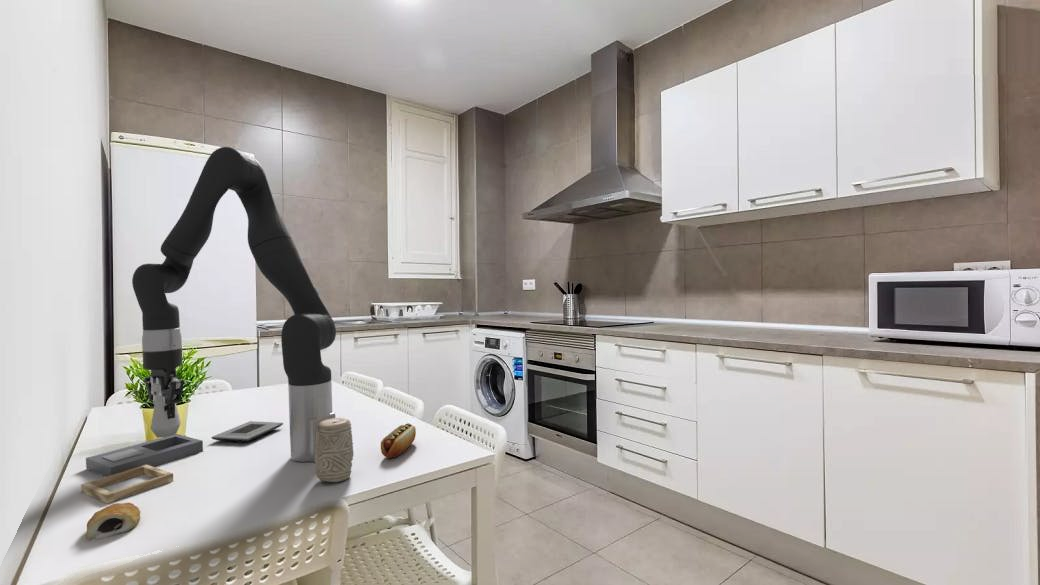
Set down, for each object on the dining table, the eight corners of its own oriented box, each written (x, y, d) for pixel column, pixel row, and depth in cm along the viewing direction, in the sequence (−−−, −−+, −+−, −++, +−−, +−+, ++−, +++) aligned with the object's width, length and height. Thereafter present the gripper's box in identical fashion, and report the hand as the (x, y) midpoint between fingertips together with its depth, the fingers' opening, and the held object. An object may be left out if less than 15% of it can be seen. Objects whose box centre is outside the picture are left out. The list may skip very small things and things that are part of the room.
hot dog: (420, 441, 118) (419, 422, 118) (398, 462, 105) (398, 440, 105) (401, 441, 119) (401, 421, 119) (377, 461, 106) (377, 439, 106)
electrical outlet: (247, 447, 119) (247, 437, 118) (211, 444, 120) (211, 435, 120) (283, 430, 131) (283, 421, 131) (250, 428, 133) (249, 420, 133)
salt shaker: (185, 433, 114) (183, 379, 114) (157, 440, 109) (154, 384, 109) (174, 429, 117) (172, 377, 117) (146, 436, 112) (144, 381, 112)
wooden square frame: (173, 480, 98) (173, 473, 98) (107, 503, 88) (106, 495, 88) (146, 471, 103) (146, 464, 103) (81, 491, 93) (81, 484, 93)
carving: (360, 476, 98) (358, 419, 97) (325, 489, 92) (323, 428, 92) (344, 469, 102) (342, 414, 101) (309, 481, 96) (307, 422, 96)
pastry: (94, 520, 82) (94, 498, 82) (144, 509, 86) (143, 488, 86) (83, 544, 75) (83, 520, 74) (138, 531, 78) (137, 509, 78)
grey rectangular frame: (203, 450, 115) (202, 439, 115) (111, 479, 99) (110, 466, 99) (176, 443, 121) (176, 433, 121) (86, 469, 105) (85, 457, 105)
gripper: (195, 347, 113) (198, 419, 113) (165, 344, 119) (168, 412, 120) (159, 351, 106) (162, 428, 107) (129, 348, 113) (132, 420, 113)
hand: (165, 419), depth 113 cm, fingers closed on salt shaker, 3 cm apart
